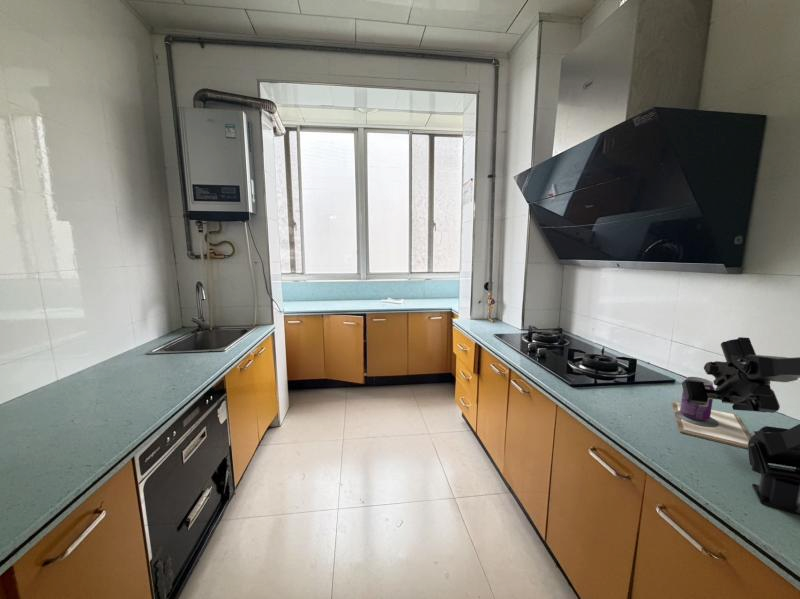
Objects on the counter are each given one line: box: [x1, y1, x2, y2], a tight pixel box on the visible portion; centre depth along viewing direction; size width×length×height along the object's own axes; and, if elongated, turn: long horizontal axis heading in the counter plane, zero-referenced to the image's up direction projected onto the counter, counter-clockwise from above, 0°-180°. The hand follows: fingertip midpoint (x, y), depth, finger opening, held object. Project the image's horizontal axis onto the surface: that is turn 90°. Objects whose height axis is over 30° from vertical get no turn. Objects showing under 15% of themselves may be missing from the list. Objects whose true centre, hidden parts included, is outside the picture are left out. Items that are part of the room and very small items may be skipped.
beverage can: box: [680, 376, 715, 420], centre depth 102 cm, size 7×7×12 cm
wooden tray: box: [671, 401, 752, 450], centre depth 100 cm, size 22×16×1 cm
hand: (712, 405), depth 94 cm, fingers open, 9 cm apart
